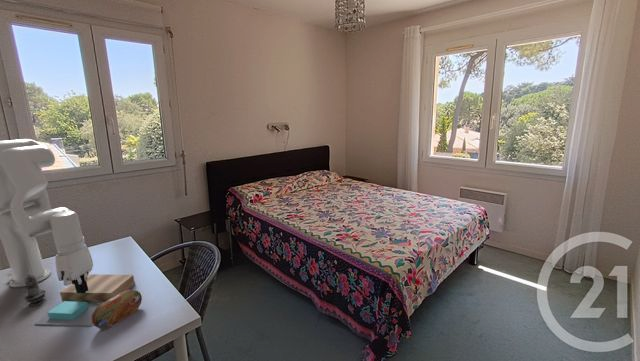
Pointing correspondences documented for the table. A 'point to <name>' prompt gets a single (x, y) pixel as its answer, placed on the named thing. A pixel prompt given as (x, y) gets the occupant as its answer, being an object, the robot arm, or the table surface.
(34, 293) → the grey chess piece
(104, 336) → the table surface
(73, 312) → the turquoise foam pad
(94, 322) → the tin
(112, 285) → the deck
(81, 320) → the mat
